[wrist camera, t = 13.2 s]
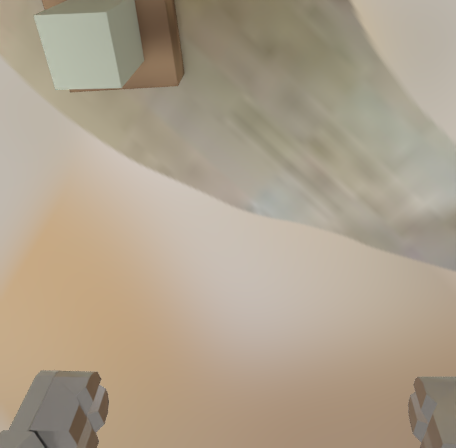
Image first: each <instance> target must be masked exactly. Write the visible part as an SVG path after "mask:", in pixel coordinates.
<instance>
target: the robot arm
mask: <svg viewBox="0 0 456 448" xmlns="http://www.w3.org/2000/svg"><path fill="white" fill-rule="evenodd" d="M100 381H101V378H100V376H99V374H98V372H85V371H46V370H45V371H44V370H43V371H40V373H38V374H37V375H36V377H35V378H34V380H33V382H32V385H31V386H30V388H29V390H28V392H27V395H26V396H25V398H24V400H23V402H22V404H21V406H20V408H19V410H18V412H17V414H16V416H15V418H14V420H13V422H12V424H11V426H10V428H9V430H3V431H2V432H1V433H0V448H97V446H98V442H99V440H98V437H97V434H96V432H97V431H98V430H99V429H100V428H101V427H102V426H103V425H104V424H105V420H106V417H107V414H108V405H109V400H108V393H107V391H106V389H105V388H104V387H102V386H100V385H99V384H100ZM414 388H415V393H413V394H411V395H410V399H409V404H408V407H409V419H410V424H411V428H412V432H413V434H414V435H415V436H416V437H417V438H418V440H419V441H420V442H421V446H420V448H456V377H417V378H416V379H415V382H414Z"/></svg>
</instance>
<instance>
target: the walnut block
mask: <svg viewBox="0 0 456 448" xmlns="http://www.w3.org/2000/svg"><path fill="white" fill-rule="evenodd" d="M64 1H67V0H42V2H43V6H44V9H45V10H47V9H49V8H51V7H53V6H56V5H58V4H60V3H62V2H64ZM134 1H135V7H136V13H137V19H138V25H139V31H140V37H141V43H142V50H143V56H144V62H143V63H142V64H141V65H140V66H139V68H138V69H137V70H136V71H135V73H134V74H133V75H132V76H131V77H130V79H129V80H128V81H127V82H126V83H125V85H124V86H123V87H122V88H107V89H69V90H70V92H83V91H100V90H117V89H134V88H151V87H168V86H178V85H179V83H180V81H181V79H182V77H183V75H184V67H183V60H182V53H181V46H180V39H179V32H178V25H177V18H176V11H175V4H174V0H134Z"/></svg>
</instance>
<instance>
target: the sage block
mask: <svg viewBox="0 0 456 448" xmlns="http://www.w3.org/2000/svg"><path fill="white" fill-rule="evenodd" d="M34 19H35V22H36V25H37V29H38V32H39V36H40V39H41V42H42V46H43V49H44V52H45V56H46V59H47V63H48V66H49V69H50V73H51V76H52V80H53V83H54V86H55V90H68V89H107V88H122V87H123V86H124V85H125V83H126V82H127V81H128V80H129V79H130V77H131V76H132V75H133V74H134V73H135V71H136V70H137V69H138V68H139V66H140V65H141V64H142V63H143V62H144V56H143V50H142V43H141V37H140V31H139V25H138V19H137V13H136V7H135V1H134V0H67V1H64V2H62V3H60V4H58V5H56V6H53V7H51V8H49V9H47V10H44V11H42V12H40V13H38V14H35V15H34Z"/></svg>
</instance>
